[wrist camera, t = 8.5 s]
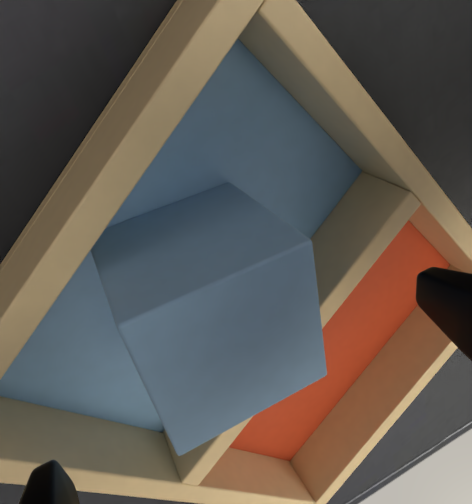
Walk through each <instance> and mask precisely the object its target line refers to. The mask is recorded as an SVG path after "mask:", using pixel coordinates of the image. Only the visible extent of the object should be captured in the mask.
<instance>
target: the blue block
mask: <svg viewBox="0 0 472 504" xmlns="http://www.w3.org/2000/svg"><path fill="white" fill-rule="evenodd" d="M91 253H92V256H93V259H94V262H95V265H96V268H97V271H98V274H99V277H100V280H101V283H102V285H103V288H104V291H105V294H106V297H107V300H108V303H109V306H110V309H111V312H112V315H113V318H114V321H115V324H116V327H117V329H118V331H119V333H120V335H121V338H122V340H123V342H124V344H125V346H126V348H127V350H128V352H129V354H130V357H131V359H132V361H133V363H134V365H135V367H136V369H137V371H138V373H139V376H140V378H141V380H142V382H143V384H144V386H145V388H146V390H147V393H148V395H149V397H150V399H151V401H152V403H153V405H154V407H155V409H156V412H157V414H158V416H159V418H160V420H161V422H162V424H163V426H164V428H165V431H166V433H167V435H168V437H169V439H170V441H171V443H172V445H173V447H174V450H175V452H176V454H177V455H179V456H181V455H183V454H185V453H187V452H189V451H190V450H192V449H194V448H196V447H198V446H200V445H201V444H203V443H205V442H207V441H209V440H210V439H212V438H214V437H216V436H218V435H220V434H221V433H223V432H225V431H227V430H229V429H230V428H232V427H234V426H236V425H238V424H239V423H241V422H243V421H245V420H247V419H249V418H250V417H252V416H254V415H256V414H258V413H259V412H261V411H263V410H265V409H267V408H269V407H270V406H272V405H274V404H276V403H278V402H279V401H281V400H283V399H285V398H287V397H289V396H290V395H292V394H294V393H296V392H298V391H299V390H301V389H303V388H305V387H307V386H308V385H310V384H312V383H314V382H316V381H318V380H319V379H321V378H323V377H325V376H326V375H327V368H326V359H325V350H324V341H323V332H322V324H321V315H320V306H319V297H318V288H317V279H316V270H315V262H314V253H313V244H312V241H311V239H309V238H308V237H306V236H305V235H304V234H302V233H301V232H299V231H298V230H297V229H295V228H294V227H292V226H291V225H290V224H288V223H287V222H285V221H284V220H283V219H281V218H280V217H278V216H277V215H275V214H274V213H273V212H271V211H270V210H268V209H267V208H266V207H264V206H263V205H261V204H260V203H259V202H257V201H256V200H254V199H253V198H252V197H250V196H249V195H247V194H246V193H244V192H243V191H242V190H240V189H239V188H237V187H236V186H235V185H233V184H232V183H230V182H228V183H225V184H223V185H220V186H217V187H215V188H212V189H209V190H207V191H204V192H201V193H199V194H196V195H193V196H191V197H188V198H185V199H183V200H180V201H177V202H175V203H172V204H169V205H167V206H164V207H161V208H159V209H156V210H153V211H151V212H148V213H145V214H143V215H140V216H137V217H135V218H132V219H129V220H127V221H124V222H122V223H119V224H116V225H114V226H111V227H108V228H106V229H105V230H104V231H103V233H102V234H101V236H100V237H99V238H98V240H97V241H96V243H95V244H94V246H93V247H92V249H91Z"/></svg>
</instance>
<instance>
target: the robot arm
mask: <svg viewBox="0 0 472 504" xmlns="http://www.w3.org/2000/svg"><path fill="white" fill-rule="evenodd" d="M416 302H417V304H418V305H419V307H420V308H421V309H422V310H423V311H424V312H425V314H426V315H427V316H428V317H429V318H430V319H431V320H432V321H433V322H434V323H435V324H436V325H437V326H438V327H439V328H440V329H441V331H442V332H443V333H444V334H445V335H446V336H447V337H448V338H449V339H450V340H451V341H452V342H453V343H454V344H455V345H456V346H457V347H458V348H459V349H460V350H461V351H462V352H463V353H464V354H465V355H466V356H467V357H468V358H469V359H470V360H471V361H472V274H471V273H465V272H460V271H454V270H449V269H443V268H438V267H430V268H428V269H426V270H424V271H422V272H420V273H419V274H418V275H417V279H416ZM19 504H79V499H78V495H77V491H76V488H75V486H74V483H73V481H72V480H71V478H70V477H69V476H68V474H67V473H66V472H65V470H64V469H63V468H62V467H61V465H60V464H59V463H58V461H56V460H50V461H48V462H46V463H44V464H42V465H40V466H38V467H36V468H35V469H34V470H33V471H32V472H31V474H30V477H29V479H28V482H27V484H26V487H25V489H24V492H23V494H22V497H21V499H20V502H19Z"/></svg>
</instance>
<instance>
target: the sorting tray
mask: <svg viewBox="0 0 472 504" xmlns="http://www.w3.org/2000/svg"><path fill="white" fill-rule="evenodd" d="M228 182H230V183H232V184H233V185H235V186H236V187H237V188H239V189H240V190H242V191H243V192H244V193H246V194H247V195H249V196H250V197H252V198H253V199H254V200H256V201H257V202H259V203H260V204H261V205H263V206H264V207H266V208H267V209H268V210H270V211H271V212H273V213H274V214H275V215H277V216H278V217H280V218H281V219H283V220H284V221H285V222H287V223H288V224H290V225H291V226H292V227H294V228H295V229H297V230H298V231H299V232H301V233H302V234H304V235H305V236H306V237H308V238H309V239H311V241H312V244H313V253H314V262H315V270H316V279H317V288H318V297H319V306H320V315H321V324H322V332H323V341H324V350H325V359H326V368H327V375H326V376H325V377H323V378H321V379H319V380H318V381H316V382H314V383H312V384H310V385H308V386H307V387H305V388H303V389H301V390H299V391H298V392H296V393H294V394H292V395H290V396H289V397H287V398H285V399H283V400H281V401H279V402H278V403H276V404H274V405H272V406H270V407H269V408H267V409H265V410H263V411H261V412H259V413H258V414H256V415H254V416H252V417H250V418H249V419H247V420H245V421H243V422H241V423H239V424H238V425H236V426H234V427H232V428H230V429H229V430H227V431H225V432H223V433H221V434H220V435H218V436H216V437H214V438H212V439H210V440H209V441H207V442H205V443H203V444H201V445H200V446H198V447H196V448H194V449H192V450H190V451H189V452H187V453H185V454H183V455H181V456H179V455H177V454H176V452H175V450H174V447H173V445H172V443H171V441H170V439H169V437H168V435H167V433H166V431H165V428H164V426H163V424H162V422H161V420H160V418H159V416H158V414H157V412H156V409H155V407H154V405H153V403H152V401H151V399H150V397H149V395H148V393H147V390H146V388H145V386H144V384H143V382H142V380H141V378H140V376H139V373H138V371H137V369H136V367H135V365H134V363H133V361H132V359H131V357H130V354H129V352H128V350H127V348H126V346H125V344H124V342H123V340H122V338H121V335H120V333H119V331H118V329H117V327H116V324H115V321H114V318H113V315H112V312H111V309H110V306H109V303H108V300H107V297H106V294H105V291H104V288H103V285H102V283H101V280H100V277H99V274H98V271H97V268H96V265H95V262H94V259H93V256H92V253H91V249H92V247H93V246H94V244H95V243H96V241H97V240H98V238H99V237H100V236H101V234H102V233H103V231H104V230H105V229H106V228H108V227H111V226H114V225H116V224H119V223H122V222H124V221H127V220H129V219H132V218H135V217H137V216H140V215H143V214H145V213H148V212H151V211H153V210H156V209H159V208H161V207H164V206H167V205H169V204H172V203H175V202H177V201H180V200H183V199H185V198H188V197H191V196H193V195H196V194H199V193H201V192H204V191H207V190H209V189H212V188H215V187H217V186H220V185H223V184H225V183H228ZM430 267H438V268H443V269H449V270H454V271H460V272H465V273H471V274H472V228H471V227H470V225H469V224H468V223H467V221H466V220H465V219H464V218H463V216H462V215H461V214H460V212H459V211H458V210H457V208H456V207H455V206H454V205H453V203H452V202H451V201H450V199H449V198H448V197H447V195H446V194H445V193H444V192H443V190H442V189H441V188H440V186H439V185H438V184H437V183H436V181H435V180H434V179H433V177H432V176H431V175H430V173H429V172H428V171H427V170H426V168H425V167H424V166H423V164H422V163H421V162H420V160H419V159H418V158H417V157H416V155H415V154H414V153H413V151H412V150H411V149H410V147H409V146H408V145H407V144H406V142H405V141H404V140H403V138H402V137H401V136H400V135H399V133H398V132H397V131H396V129H395V128H394V127H393V125H392V124H391V123H390V122H389V120H388V119H387V118H386V116H385V115H384V114H383V112H382V111H381V110H380V109H379V107H378V106H377V105H376V103H375V102H374V101H373V100H372V98H371V97H370V96H369V94H368V93H367V92H366V90H365V89H364V88H363V87H362V85H361V84H360V83H359V81H358V80H357V79H356V77H355V76H354V75H353V74H352V72H351V71H350V70H349V68H348V67H347V66H346V64H345V63H344V62H343V61H342V59H341V58H340V57H339V55H338V54H337V53H336V52H335V50H334V49H333V48H332V46H331V45H330V44H329V42H328V41H327V40H326V39H325V37H324V36H323V35H322V33H321V32H320V31H319V29H318V28H317V27H316V26H315V24H314V23H313V22H312V20H311V19H310V18H309V16H308V15H307V14H306V13H305V11H304V10H303V9H302V7H301V6H300V5H299V4H298V2H297V1H296V0H177V1H176V2H175V4H174V5H173V7H172V8H171V10H170V11H169V13H168V14H167V16H166V17H165V19H164V20H163V22H162V23H161V25H160V26H159V28H158V29H157V31H156V32H155V34H154V35H153V37H152V38H151V40H150V41H149V43H148V44H147V46H146V47H145V49H144V50H143V52H142V53H141V55H140V56H139V58H138V59H137V61H136V62H135V64H134V65H133V67H132V68H131V70H130V71H129V73H128V74H127V76H126V77H125V79H124V80H123V82H122V83H121V85H120V86H119V88H118V89H117V91H116V92H115V94H114V95H113V97H112V98H111V100H110V101H109V103H108V104H107V106H106V107H105V109H104V110H103V112H102V113H101V115H100V116H99V117H98V119H97V120H96V122H95V123H94V125H93V126H92V128H91V129H90V131H89V132H88V134H87V135H86V137H85V138H84V140H83V141H82V143H81V144H80V146H79V147H78V149H77V150H76V152H75V153H74V155H73V156H72V158H71V159H70V161H69V162H68V164H67V165H66V167H65V168H64V170H63V171H62V173H61V174H60V176H59V177H58V179H57V180H56V182H55V183H54V185H53V186H52V188H51V189H50V191H49V192H48V194H47V195H46V197H45V198H44V200H43V201H42V203H41V204H40V206H39V207H38V209H37V210H36V212H35V213H34V215H33V216H32V218H31V219H30V221H29V222H28V224H27V225H26V227H25V228H24V230H23V231H22V233H21V234H20V236H19V237H18V239H17V240H16V242H15V243H14V245H13V246H12V248H11V249H10V251H9V252H8V254H7V255H6V257H5V258H4V260H3V261H2V263H1V264H0V483H9V484H18V485H26V484H27V482H28V479H29V477H30V474H31V472H32V471H33V470H34V469H35V468H36V467H38V466H40V465H42V464H44V463H46V462H48V461H50V460H56V461H58V463H59V464H60V465H61V467H62V468H63V469H64V470H65V472H66V473H67V474H68V476H69V477H70V478H71V480H72V481H73V483H74V486H75V488H76V491H85V492H94V493H104V494H113V495H123V496H132V497H142V498H151V499H161V500H170V501H180V502H190V503H199V504H326V503H327V502H328V501H329V500H330V498H331V497H332V496H333V495H334V494H335V492H336V491H337V490H338V489H339V488H340V487H341V485H342V484H343V483H344V482H345V481H346V479H347V478H348V477H349V476H350V475H351V474H352V472H353V471H354V470H355V469H356V468H357V466H358V465H359V464H360V463H361V462H362V460H363V459H364V458H365V457H366V456H367V455H368V453H369V452H370V451H371V450H372V449H373V447H374V446H375V445H376V444H377V443H378V441H379V440H380V439H381V438H382V437H383V436H384V434H385V433H386V432H387V431H388V430H389V428H390V427H391V426H392V425H393V424H394V423H395V421H396V420H397V419H398V418H399V417H400V415H401V414H402V413H403V412H404V411H405V409H406V408H407V407H408V406H409V405H410V404H411V402H412V401H413V400H414V399H415V398H416V396H417V395H418V394H419V393H420V392H421V390H422V389H423V388H424V387H425V386H426V385H427V383H428V382H429V381H430V380H431V379H432V377H433V376H434V375H435V374H436V373H437V372H438V370H439V369H440V368H441V367H442V366H443V364H444V363H445V362H446V361H447V360H448V358H449V357H450V356H451V355H452V354H453V353H454V351H455V350H456V349H457V348H458V347H457V346H456V345H455V344H454V343H453V342H452V341H451V340H450V339H449V338H448V337H447V336H446V335H445V334H444V333H443V332H442V331H441V329H440V328H439V327H438V326H437V325H436V324H435V323H434V322H433V321H432V320H431V319H430V318H429V317H428V316H427V315H426V314H425V312H424V311H423V310H422V309H421V308H420V307H419V305H418V304H417V302H416V279H417V275H418V274H419V273H420V272H422V271H424V270H426V269H428V268H430Z"/></svg>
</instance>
